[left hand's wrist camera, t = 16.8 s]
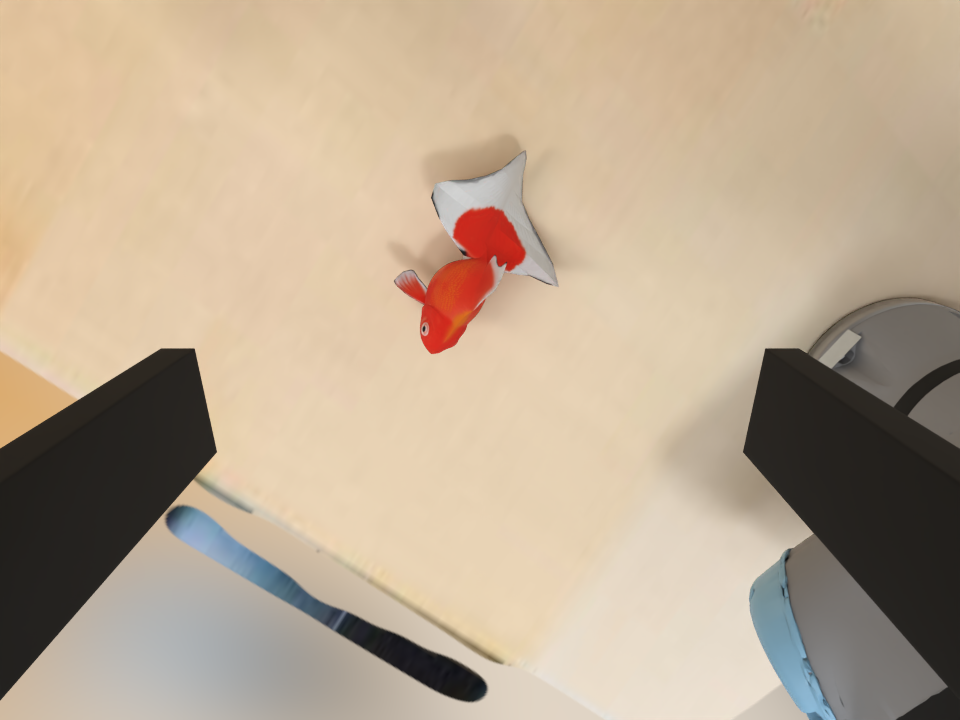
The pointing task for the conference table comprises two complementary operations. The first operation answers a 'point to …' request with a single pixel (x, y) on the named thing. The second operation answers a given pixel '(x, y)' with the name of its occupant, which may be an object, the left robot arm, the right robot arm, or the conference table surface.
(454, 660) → the conference table surface
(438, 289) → the fish
